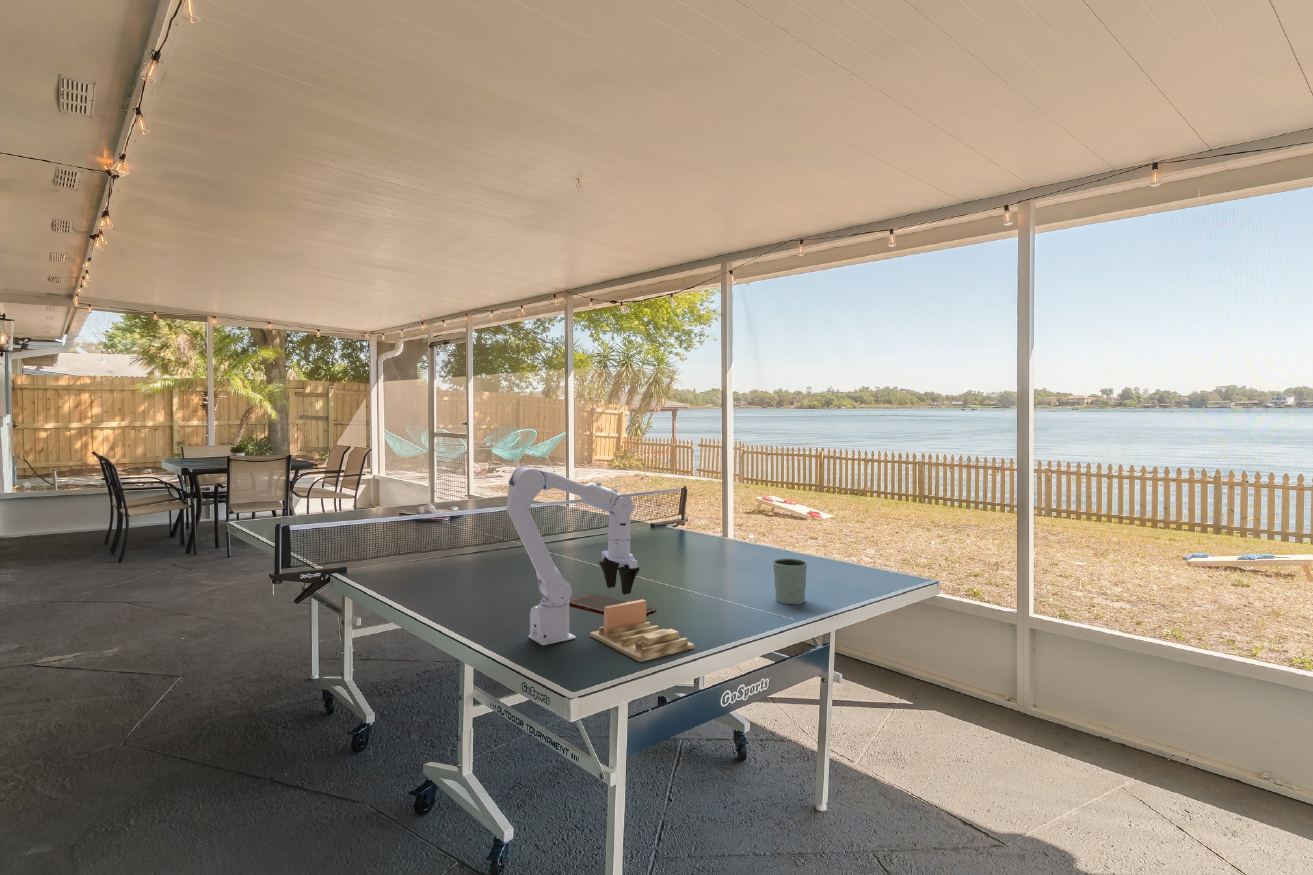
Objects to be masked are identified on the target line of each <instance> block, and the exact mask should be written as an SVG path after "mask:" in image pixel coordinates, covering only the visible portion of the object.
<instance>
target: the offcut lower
mask: <svg viewBox="0 0 1313 875" xmlns="http://www.w3.org/2000/svg"><path fill="white" fill-rule="evenodd" d="M677 639H682V638H681V637H680V636H679V638H676V639H672V640H668V641H664V642H660V643H656V644H651V645H647V644H645V643H643V642H641V641H640V642H636V643H635V649H637V650H639V651H641V649H642V648H644V647H648V646H652V645H657V644H661V643H665V642H669V641H673V640H677Z"/></svg>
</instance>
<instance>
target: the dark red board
mask: <svg viewBox="0 0 1313 875" xmlns="http://www.w3.org/2000/svg"><path fill="white" fill-rule="evenodd" d="M627 602H628V601H625V600H621V599H616V598H613V597H608V596H605V595H600V594H596V593H592V594H588V595H585V596H581V597H578V598H575V599H572V600H571V599H570V600H569V607H575V608H578V609H581V610H586V611H588V612H589V611H590V612H594V613H597V614H602V615H604V607H606V606H611V605H616V604H621V603H627ZM655 612H656V613H657V610H656V608H654V607H650V606H646V616H648V615H650V614H651V615H652V614H655Z"/></svg>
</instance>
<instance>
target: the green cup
mask: <svg viewBox="0 0 1313 875" xmlns="http://www.w3.org/2000/svg"><path fill="white" fill-rule="evenodd" d="M772 564H773V565H772V566H773V573H774V574H773V575H774V588H775V593H774V594H775V600H776V602H777V603H779V602H780V604H784V605H789V604H796V605H802V604H804V603H805V599H806V598H805V595H806V582H807V578H806V576H807V567H808V562H807V561H806V560H802V559H798V558H779V559H775V560H773V562H772Z"/></svg>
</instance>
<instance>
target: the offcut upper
mask: <svg viewBox="0 0 1313 875" xmlns="http://www.w3.org/2000/svg"><path fill="white" fill-rule="evenodd" d="M666 629H667V628H666ZM679 633H680V632H679V631H677V630H676V629H673V628H668V629H667V630H663V631H659V632H654V633H650V634H645V635H641V642H643V643H645V644H647V645H651V644H656V643H660V642H664V641H668V640H672V639H676V638H679V637H680V634H679Z"/></svg>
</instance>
